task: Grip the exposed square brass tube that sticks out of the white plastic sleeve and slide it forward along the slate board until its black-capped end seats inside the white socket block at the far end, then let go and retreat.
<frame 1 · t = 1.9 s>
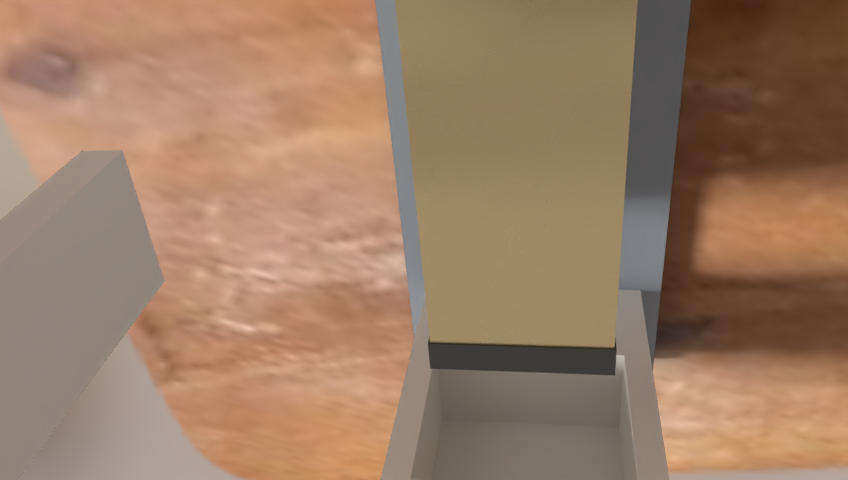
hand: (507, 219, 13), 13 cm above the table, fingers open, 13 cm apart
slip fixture: (529, 32, 23), on the table
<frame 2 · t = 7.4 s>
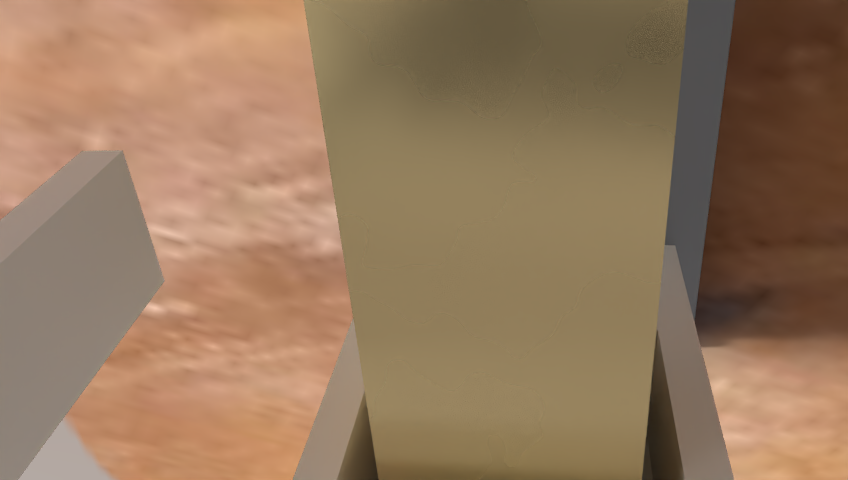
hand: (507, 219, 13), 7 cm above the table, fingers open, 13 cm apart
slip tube: (504, 100, 12), point 7 cm above the table, slide at 6.3 cm
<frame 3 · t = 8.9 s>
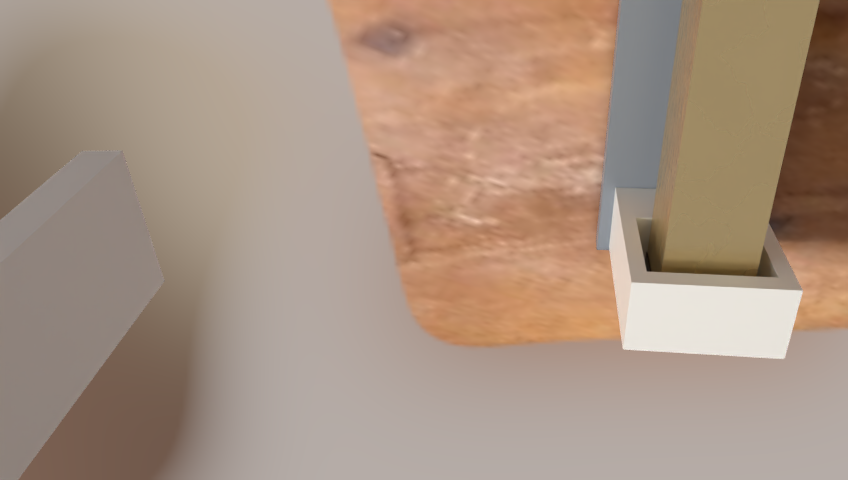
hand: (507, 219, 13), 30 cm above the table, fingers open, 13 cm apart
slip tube: (722, 128, 35), point 7 cm above the table, slide at 6.3 cm
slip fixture: (705, 27, 40), on the table
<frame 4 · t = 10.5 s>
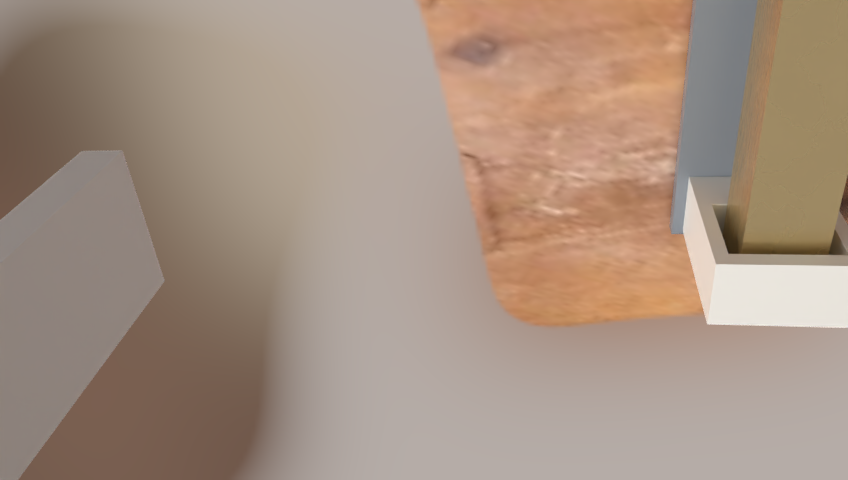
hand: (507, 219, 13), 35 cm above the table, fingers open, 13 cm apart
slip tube: (795, 123, 39), point 7 cm above the table, slide at 6.3 cm
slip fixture: (772, 28, 43), on the table
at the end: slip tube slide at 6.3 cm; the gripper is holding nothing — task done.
